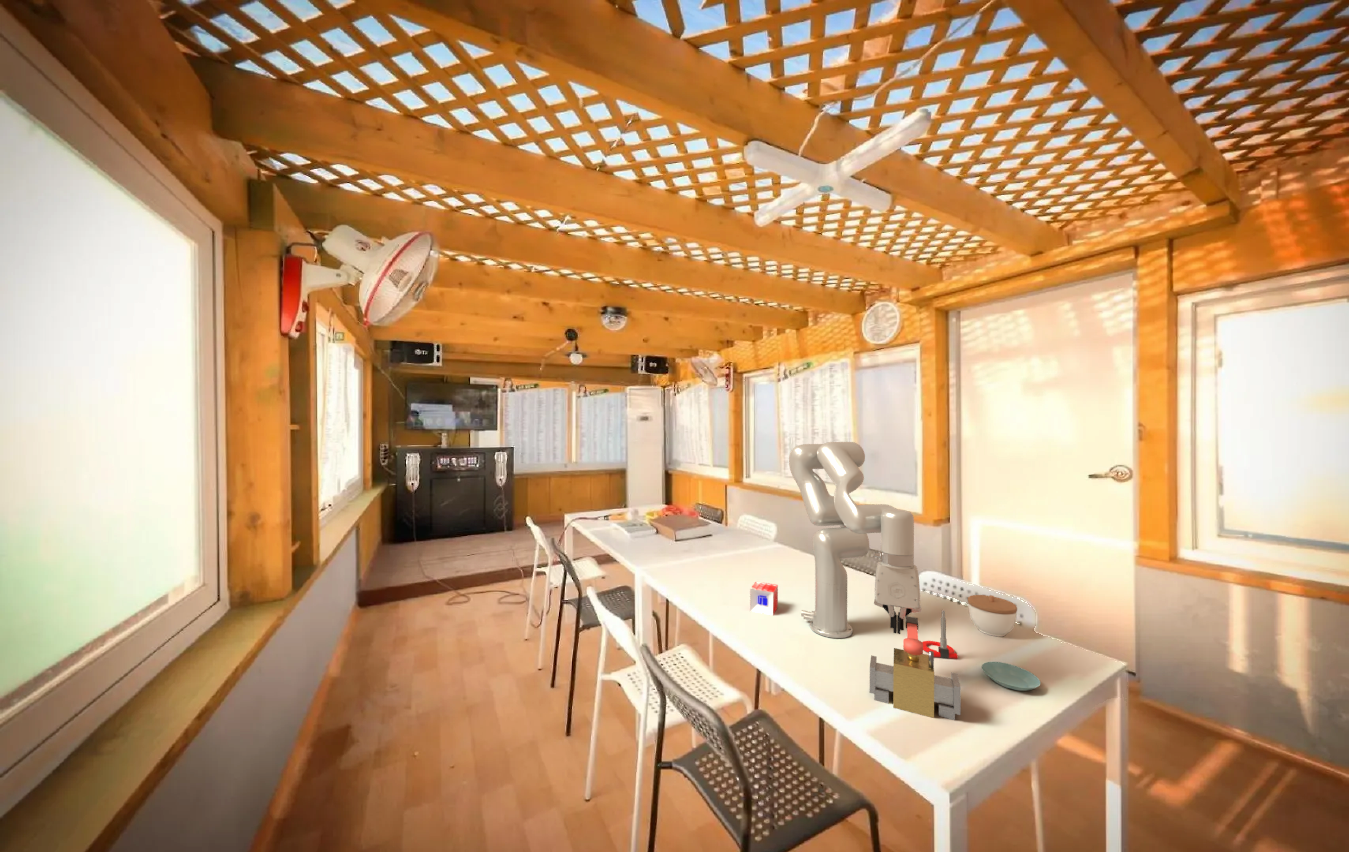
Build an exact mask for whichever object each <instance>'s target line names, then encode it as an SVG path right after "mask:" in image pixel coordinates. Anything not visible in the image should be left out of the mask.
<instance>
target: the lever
mask: <svg viewBox="0 0 1349 852" xmlns="http://www.w3.org/2000/svg"><path fill="white" fill-rule="evenodd" d="M905 629H906V632H907V633H906V638H903V645H902V646H903V649H902V650H904V651H905V652H907V653H909V654H913V655H922V654H924V650H923V643H922V642H923V641H921V640H919V635H918V633H919V618H918V617H915V616H909V615H907V616H906V617H905Z"/></svg>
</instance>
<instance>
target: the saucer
mask: <svg viewBox="0 0 1349 852" xmlns="http://www.w3.org/2000/svg"><path fill="white" fill-rule="evenodd" d="M981 670H982V671H983V673H984V674H985V675H987V677H988V678H989V679H991V680H992V681H993V682H995V683H996V684H997V685H1000V687H1001V686H1002V687H1004V688H1006V689H1009V690H1013V691H1021V692H1024V691H1031V690H1034V689H1036V688H1039V686H1041V680H1040V678H1038V677H1037V676H1036V675H1035V674H1034V673H1032V672H1031V671H1028V670H1027V669H1024V668H1023V667H1020V666H1017V665H1015V664H1011V663H1006V662H1002V661H986V662H984V663H983V664H981Z"/></svg>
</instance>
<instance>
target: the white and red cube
mask: <svg viewBox="0 0 1349 852" xmlns="http://www.w3.org/2000/svg"><path fill="white" fill-rule="evenodd" d="M778 599H779V585H778V584H776V583H769V582H761V581H755V582H753V584H752V585H751V587H750V588H749V612H751V611H752V612H751V613H758V614H762V613H764V614H763V615H769V616H774V615H775V613H776V611H777V609H778V608H777V607H779V605H778V604H779V603H778V602H779V601H778Z"/></svg>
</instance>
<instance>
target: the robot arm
mask: <svg viewBox="0 0 1349 852" xmlns="http://www.w3.org/2000/svg"><path fill="white" fill-rule="evenodd" d="M788 457H789V458H788V465H789V470H790V473H791V475H792V477H793V480H794V481H795V483H796V485H797V487H798V489H799V491H800V495H801V498H802V501H803V504H804V507H805V510H806V513H807V517H808V519H809V521H810V523H811V524H813V525H814V526H817V527H826V528H821V529H819V530H817V531H816V532H814V533H813V535H812V537H811V538H812V539H811V544H812V550H813V556H814V567H815V570H814V571H815V574H814V575H815V577H814V579H815V582H814V583H815V587H814V588H815V589H814V591H815V593H814V594H815V596H814V597H815V598H814V601H815V602H814V609H815V610H814V611H813V610H811V611H808V610H804V609H801V613H800V616H801V617H803V620H806V621H808V620H809V621H810V622H809V627H810V629H811V630H812V631H813V632H814V633H816V634H818V635H820V636H823V637H827V638H832V639H843V638H844V639H845V638H848V637H850V636H852V635H853V627H852V626H851V625H850V623H848V573H847V569H846V567H845V566H844V565H843V563H842V562H841V560H845V559H854V558H855V559H856V558H862V557H865V556H866V555H867V554H868V552H869V551H870V540H869V536H868V534H875V533H876V534H878V533H879V534H880V550H879V551H874V558H878V559H879V561H878V562H877V565H876V569H875V578H874V581H875V582H874V601H873V604H874V605H875V606H877V607H879V608H883V610H885V612H887V613H888V616H889V617H890V625H889V626H890V629H892V630H893V634H897V635H901V631H904V619H906V616H909V615H910V614H911V613H921V612H922V608H921V591H920V590H921V589H920V576H919V570H918V567H917V566H916V565H915V564H914V563H915V559H914V557H915V551H914V550H915V548H914V547H915V541H914V540H915V537H914V536H915V531H914V530H915V517H914V515H913V513H912V512H911V511H908V510H905V509H898V508H896V507H894V506H892V505H889V504H885V503H880V504H877V503H876V504H856V503H855V501H854V500H853V498H852V496H851V495H850V494H851V493H853V492H854V491H856V490H857V489H858V488H860V487H861V486H862V484H863V482H864V479H865V478H864V477H865V476H864V473H863V471H862V470H861V469H860V467H862V466H863V465H864V463H865V461H866V454H865V451H864V448H862V446H861V445H860V444H858V443H857V442H856V441H855V442H854V441H829V442H826V443H806V444H799V445H796V446H794V447H792V449H791V451H790V452H789V456H788ZM814 470H824V471H825V472H826V474H827V475H828V476H829V479H830V480H831V482H832V483H833V484H834V486H835V490H834V493H833V495H831V494H830V492H829V491H828V488H827V486H826V483H825V481H824V480H823V479H822V478H821V476H820V475H818V474H817V473H816V472H815V471H814ZM827 526H828V527H827ZM829 526H830V527H829ZM831 526H839V527H831ZM895 607H896V608H900V609H899V612H898V614H897V612H896V610H895Z"/></svg>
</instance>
